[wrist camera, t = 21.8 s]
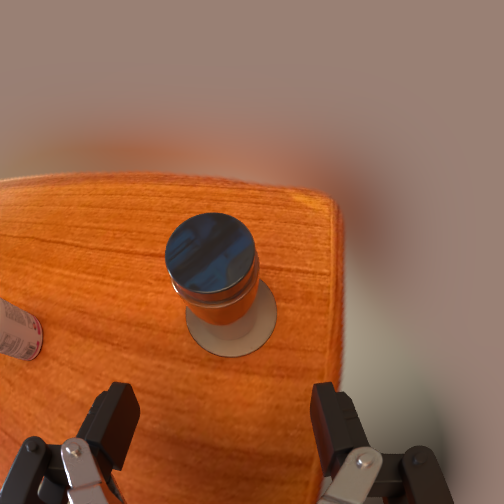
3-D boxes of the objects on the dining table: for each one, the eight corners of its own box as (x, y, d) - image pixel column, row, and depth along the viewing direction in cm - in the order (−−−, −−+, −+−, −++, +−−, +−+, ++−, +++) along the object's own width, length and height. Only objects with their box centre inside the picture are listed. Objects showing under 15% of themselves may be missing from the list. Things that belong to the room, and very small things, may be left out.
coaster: (291, 294, 22) (292, 292, 22) (250, 373, 19) (250, 373, 19) (215, 257, 24) (214, 255, 23) (170, 329, 21) (168, 328, 20)
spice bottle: (267, 300, 21) (277, 230, 12) (240, 350, 20) (227, 317, 11) (218, 276, 22) (195, 196, 13) (189, 322, 21) (141, 268, 12)
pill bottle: (16, 315, 21) (-39, 283, 13) (45, 314, 21) (-14, 280, 13) (13, 359, 18) (-47, 337, 11) (43, 363, 19) (-22, 341, 11)
